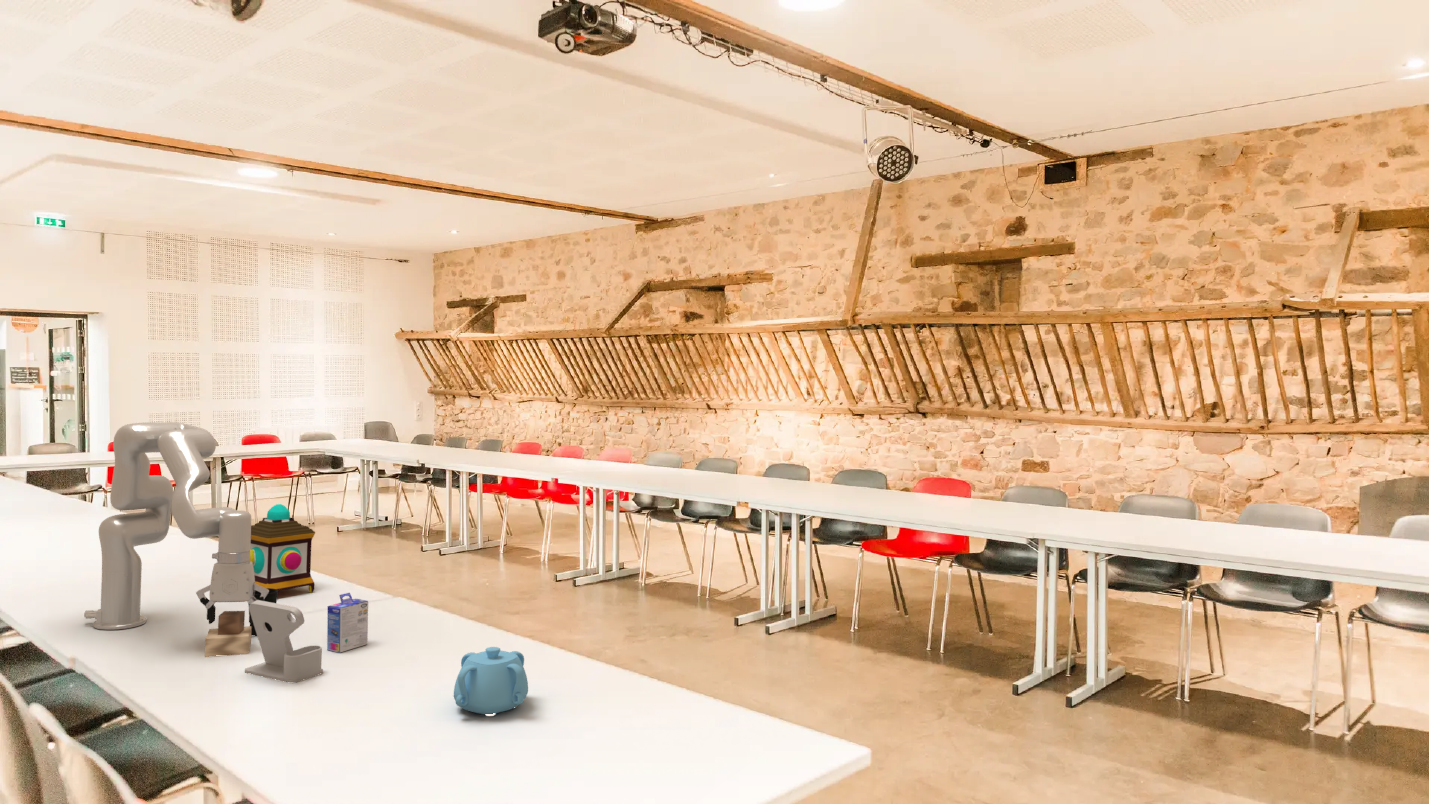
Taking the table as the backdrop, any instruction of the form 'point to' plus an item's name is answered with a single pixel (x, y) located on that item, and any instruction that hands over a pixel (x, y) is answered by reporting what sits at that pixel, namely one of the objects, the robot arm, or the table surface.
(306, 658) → the phone holder
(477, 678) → the decorative pot
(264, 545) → the decorative lantern
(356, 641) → the ink cartridge box
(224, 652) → the oak block
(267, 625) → the cup
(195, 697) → the table surface
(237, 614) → the walnut cube
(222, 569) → the robot arm
